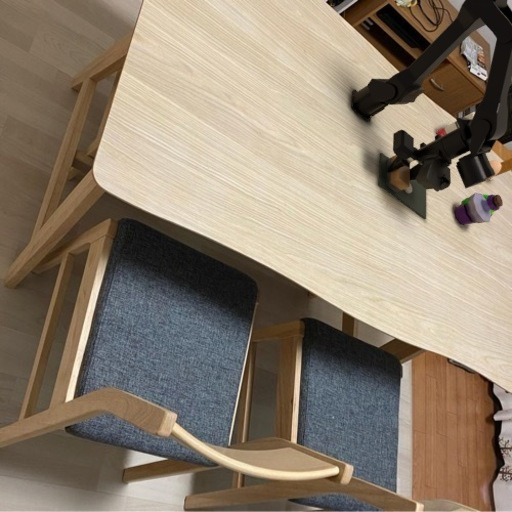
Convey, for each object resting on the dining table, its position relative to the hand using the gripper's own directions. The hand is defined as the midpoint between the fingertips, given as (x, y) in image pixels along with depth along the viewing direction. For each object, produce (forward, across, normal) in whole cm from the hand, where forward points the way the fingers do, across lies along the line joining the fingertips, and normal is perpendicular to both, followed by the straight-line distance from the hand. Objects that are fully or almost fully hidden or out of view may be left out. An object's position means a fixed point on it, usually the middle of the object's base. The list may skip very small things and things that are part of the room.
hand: (393, 175), depth 140 cm
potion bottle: (+1, +30, +5) cm, 30 cm away
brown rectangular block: (+1, 0, 0) cm, 1 cm away
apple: (+1, +40, +13) cm, 42 cm away
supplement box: (+1, +45, +29) cm, 53 cm away
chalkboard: (+1, +5, 0) cm, 5 cm away
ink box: (+1, +24, +30) cm, 38 cm away
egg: (+1, +39, +25) cm, 46 cm away
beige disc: (+1, +6, 0) cm, 6 cm away
